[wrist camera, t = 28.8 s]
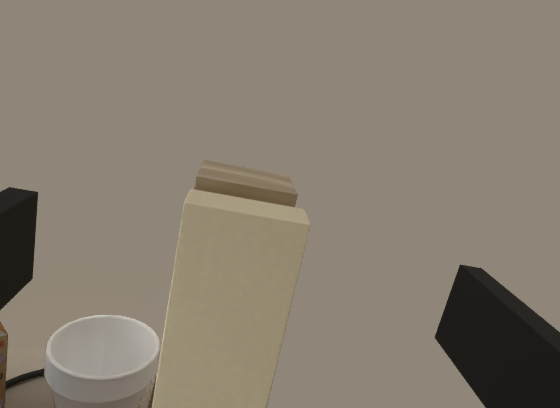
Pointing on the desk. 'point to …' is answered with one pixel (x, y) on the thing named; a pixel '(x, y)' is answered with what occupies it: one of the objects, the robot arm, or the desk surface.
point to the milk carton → (3, 363)
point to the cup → (101, 362)
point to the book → (228, 301)
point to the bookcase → (243, 188)
